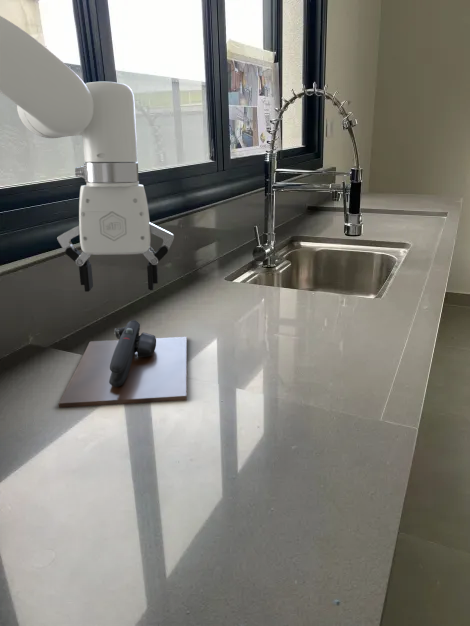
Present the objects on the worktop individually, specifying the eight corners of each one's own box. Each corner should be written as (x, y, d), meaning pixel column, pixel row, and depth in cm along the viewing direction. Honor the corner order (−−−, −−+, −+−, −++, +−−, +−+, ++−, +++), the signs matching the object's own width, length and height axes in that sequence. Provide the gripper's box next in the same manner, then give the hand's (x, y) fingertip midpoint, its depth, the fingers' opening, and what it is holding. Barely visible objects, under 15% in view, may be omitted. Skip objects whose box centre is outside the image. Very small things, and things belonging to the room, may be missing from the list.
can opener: (122, 345, 90) (119, 315, 89) (160, 345, 90) (157, 315, 88) (91, 390, 74) (86, 355, 72) (137, 390, 73) (134, 355, 71)
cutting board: (59, 413, 70) (58, 403, 70) (90, 348, 93) (89, 341, 92) (187, 405, 72) (186, 396, 71) (187, 343, 94) (186, 336, 94)
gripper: (44, 176, 68) (57, 296, 73) (171, 176, 70) (175, 293, 75) (58, 174, 75) (69, 284, 80) (172, 174, 77) (176, 281, 82)
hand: (120, 288), depth 78 cm, fingers open, 9 cm apart
